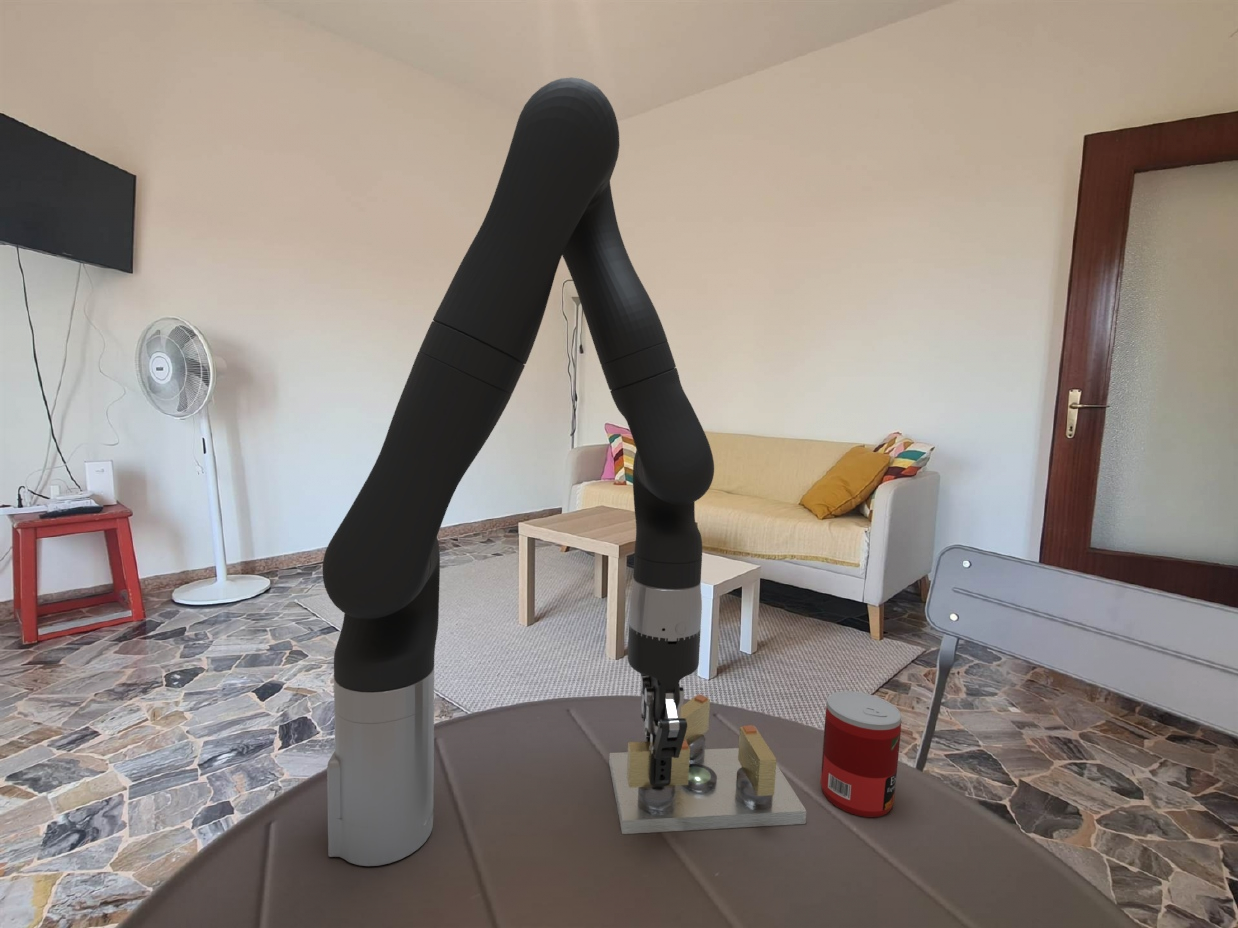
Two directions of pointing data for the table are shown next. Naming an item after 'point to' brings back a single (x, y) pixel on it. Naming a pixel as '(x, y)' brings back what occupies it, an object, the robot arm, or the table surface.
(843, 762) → the canned food
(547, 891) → the table surface
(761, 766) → the knob
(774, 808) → the level plate
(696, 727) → the yellow paddle knob
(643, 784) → the knob
